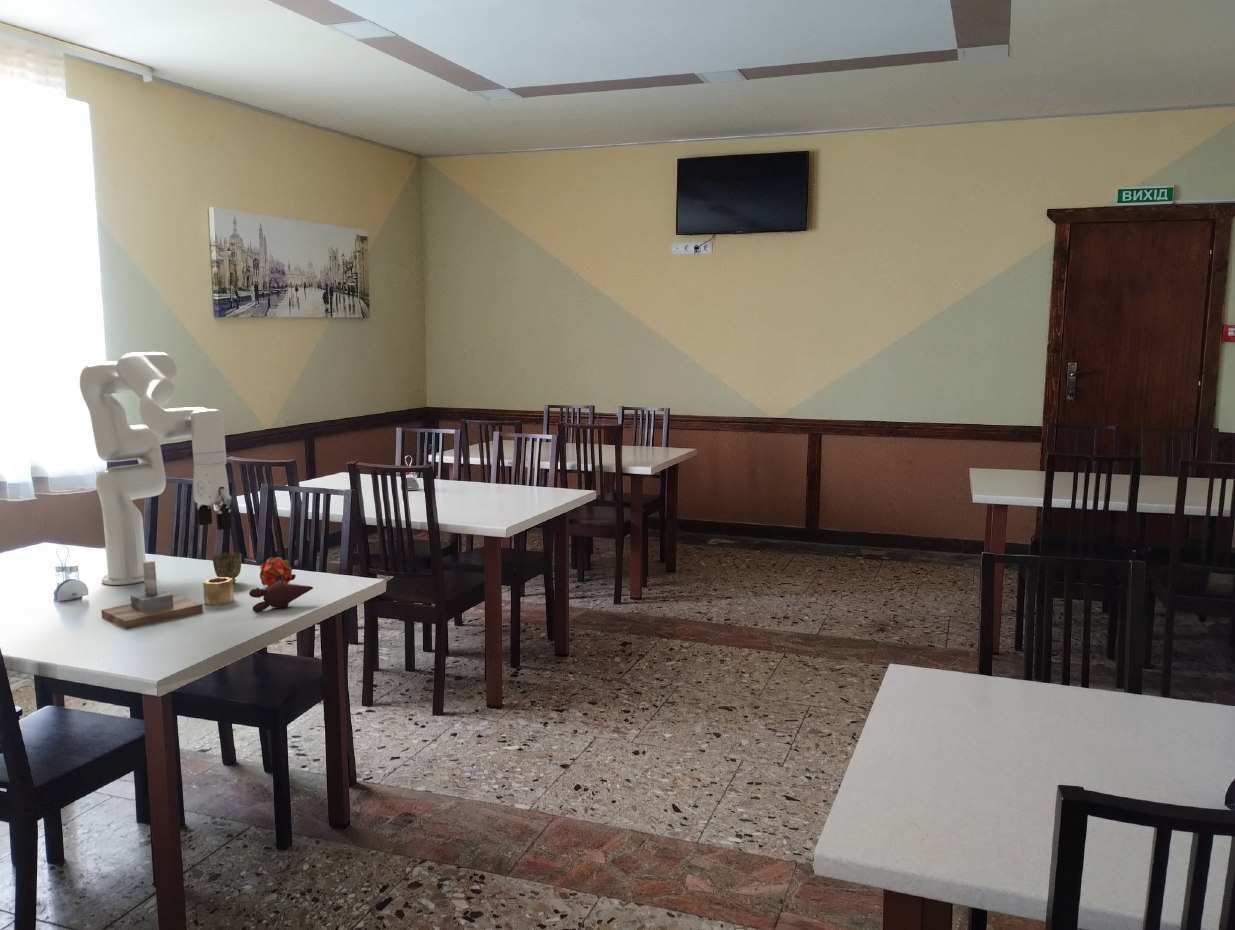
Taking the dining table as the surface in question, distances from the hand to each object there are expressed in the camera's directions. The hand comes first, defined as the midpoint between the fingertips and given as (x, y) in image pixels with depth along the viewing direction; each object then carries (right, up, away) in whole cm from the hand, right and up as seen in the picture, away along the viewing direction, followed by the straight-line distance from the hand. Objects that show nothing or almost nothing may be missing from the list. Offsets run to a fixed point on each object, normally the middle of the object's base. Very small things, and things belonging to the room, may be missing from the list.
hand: (214, 526), depth 238 cm
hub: (0, -19, +3) cm, 19 cm away
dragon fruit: (+10, -17, +17) cm, 26 cm away
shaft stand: (-11, -21, -9) cm, 25 cm away
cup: (-5, -17, +20) cm, 27 cm away
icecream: (+18, -20, -3) cm, 27 cm away
